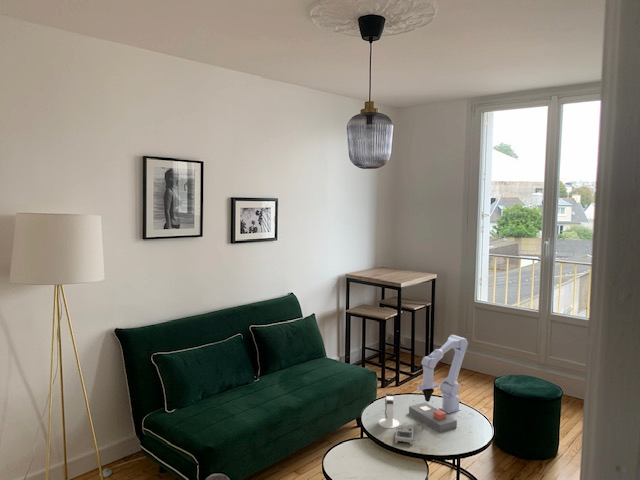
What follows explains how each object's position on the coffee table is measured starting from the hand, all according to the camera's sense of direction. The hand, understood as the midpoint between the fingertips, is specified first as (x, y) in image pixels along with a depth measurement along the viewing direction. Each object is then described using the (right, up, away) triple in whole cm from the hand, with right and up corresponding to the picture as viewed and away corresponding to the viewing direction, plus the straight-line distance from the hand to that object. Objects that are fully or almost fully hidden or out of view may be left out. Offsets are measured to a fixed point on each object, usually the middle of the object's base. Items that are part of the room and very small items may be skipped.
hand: (427, 400), depth 277 cm
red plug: (+5, -7, -9) cm, 12 cm away
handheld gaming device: (-17, -12, -24) cm, 31 cm away
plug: (-1, -9, +2) cm, 9 cm away
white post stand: (-23, -10, -7) cm, 26 cm away
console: (+2, -10, -3) cm, 10 cm away
